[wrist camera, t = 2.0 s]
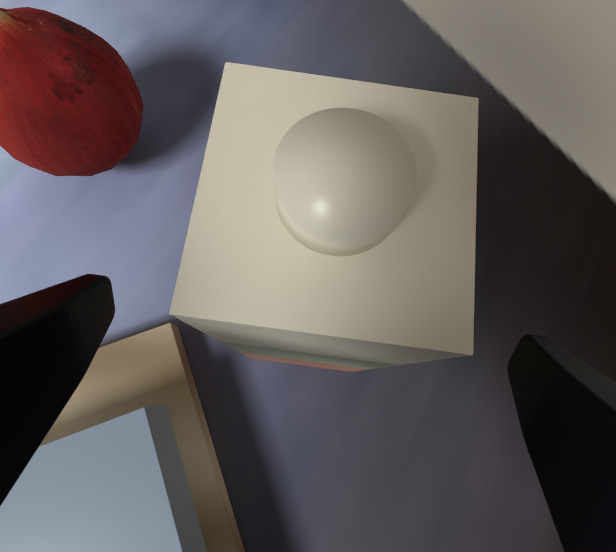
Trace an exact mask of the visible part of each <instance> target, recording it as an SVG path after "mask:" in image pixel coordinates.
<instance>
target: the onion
mask: <svg viewBox="0 0 616 552" xmlns="http://www.w3.org/2000/svg"><path fill="white" fill-rule="evenodd" d="M142 112H143V102H142V99H141V96H140V93H139V90H138V87H137V85H136V83H135V81H134V79H133V77H132V74H131V72H130V70H129V68H128V66H127V65H126V63H125V62H124V60H123V59H122V57H121V56H120V55H119V53H118V52H117V51H116V50H115V49H114V48H113V47H112V46H111V45H110V44H109V43H107V42H106V41H105V40H104V39H103V38H101V37H99V36H98V35H96V34H94V33H93V32H91V31H90V30H88V29H86V28H85V27H83V26H81V25H78V24H76V23H74V22H72V21H70V20H67V19H65V18H63V17H61V16H59V15H56V14H53V13H51V12H48V11H45V10H40V9H35V8H30V7H22V8H14V9H3V8H0V146H1V147H2V148H4V149H5V150H6V151H7V152H8V153H9V154H10V155H11V156H12V157H13V158H14V159H16V160H18V161H20V162H22V163H24V164H26V165H28V166H30V167H33V168H36V169H38V170H41V171H44V172H46V173H49V174H52V175H55V176H92V175H95V174H98V173H101V172H104V171H107V170H110V169H112V168H113V167H114V166H116V165H117V164H118V163H119V162H121V161H122V160H123V159H125V158H126V157H127V156H128V155H129V153H130V151H131V150H132V148H133V146H134V145H135V143H136V142H137V140H138V138H139V133H140V128H141V120H142Z"/></svg>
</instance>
